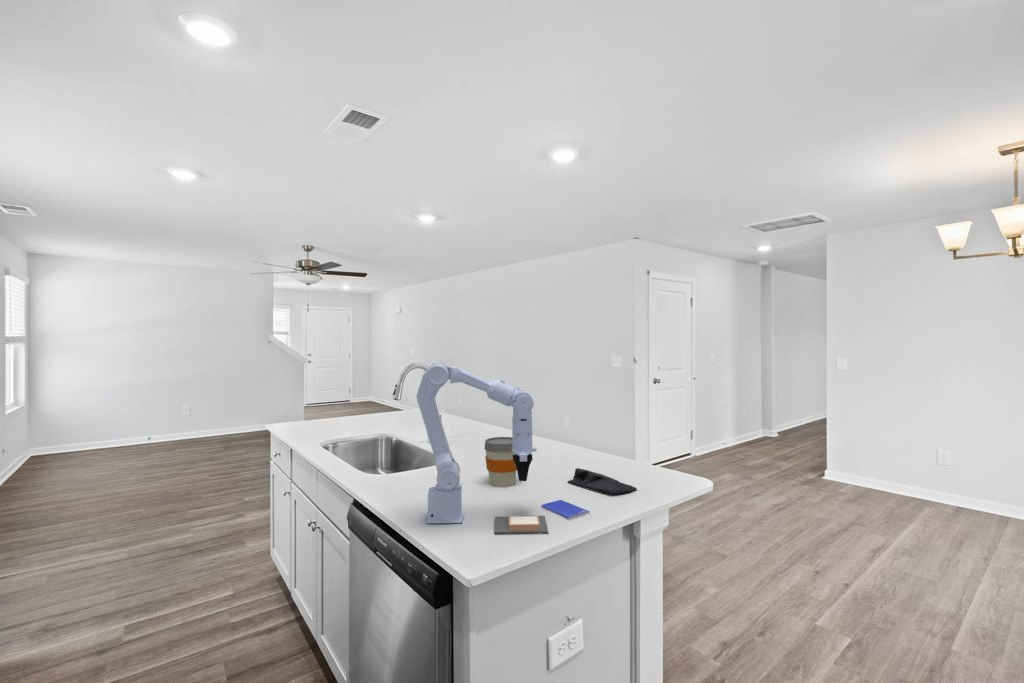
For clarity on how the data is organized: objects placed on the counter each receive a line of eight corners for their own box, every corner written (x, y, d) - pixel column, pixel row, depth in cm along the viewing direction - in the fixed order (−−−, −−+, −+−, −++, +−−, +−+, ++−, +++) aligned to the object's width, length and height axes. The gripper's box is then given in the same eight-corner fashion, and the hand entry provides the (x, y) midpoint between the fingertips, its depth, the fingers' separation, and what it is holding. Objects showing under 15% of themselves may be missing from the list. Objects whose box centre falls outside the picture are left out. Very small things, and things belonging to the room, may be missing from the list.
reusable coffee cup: (509, 490, 159) (508, 445, 158) (477, 485, 165) (477, 442, 165) (526, 480, 169) (526, 438, 169) (496, 476, 176) (496, 435, 176)
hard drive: (589, 510, 136) (561, 499, 147) (568, 516, 132) (540, 504, 142) (590, 516, 136) (561, 504, 147) (568, 522, 132) (541, 509, 142)
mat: (494, 534, 123) (494, 532, 123) (495, 518, 134) (494, 516, 134) (548, 533, 123) (548, 531, 123) (544, 517, 134) (544, 515, 134)
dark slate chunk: (607, 500, 149) (607, 485, 149) (564, 483, 168) (564, 469, 168) (641, 492, 158) (641, 477, 158) (596, 476, 176) (596, 463, 176)
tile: (508, 522, 129) (509, 531, 123) (508, 516, 129) (509, 524, 123) (538, 521, 129) (539, 530, 123) (538, 515, 129) (539, 524, 123)
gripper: (538, 438, 129) (538, 488, 129) (534, 428, 143) (535, 473, 143) (512, 438, 129) (512, 488, 129) (511, 428, 143) (511, 473, 143)
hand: (522, 480), depth 136 cm, fingers closed
